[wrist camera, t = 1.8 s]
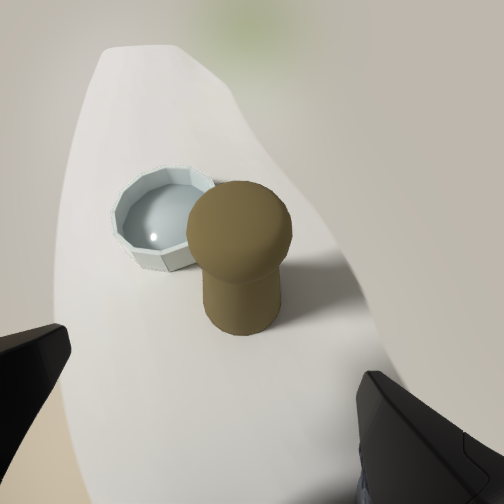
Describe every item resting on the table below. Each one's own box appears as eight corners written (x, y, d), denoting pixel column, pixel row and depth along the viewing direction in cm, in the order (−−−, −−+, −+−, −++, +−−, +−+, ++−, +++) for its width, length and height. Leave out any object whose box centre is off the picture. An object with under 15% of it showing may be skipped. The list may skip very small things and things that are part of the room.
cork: (274, 259, 24) (290, 158, 15) (287, 330, 21) (321, 261, 12) (200, 267, 24) (173, 170, 14) (206, 340, 21) (170, 278, 11)
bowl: (169, 292, 23) (160, 277, 20) (104, 233, 25) (92, 215, 23) (242, 215, 26) (242, 195, 24) (171, 172, 29) (166, 153, 27)
